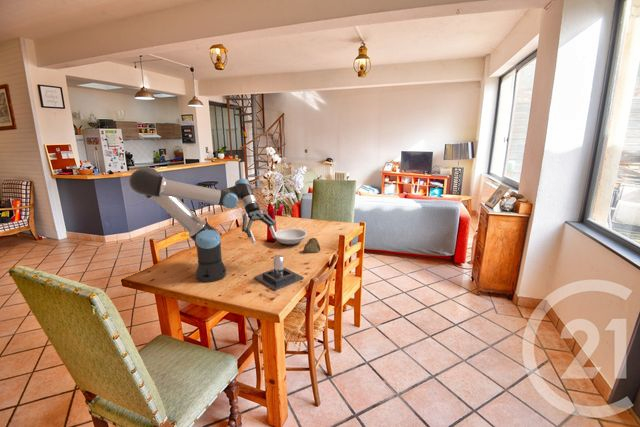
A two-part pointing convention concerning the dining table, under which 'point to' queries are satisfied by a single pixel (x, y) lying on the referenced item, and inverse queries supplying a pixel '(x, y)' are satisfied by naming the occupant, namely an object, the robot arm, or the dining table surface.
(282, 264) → the steel roller
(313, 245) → the rock
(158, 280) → the dining table surface
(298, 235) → the soup bowl
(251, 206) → the robot arm
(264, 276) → the socket plate
